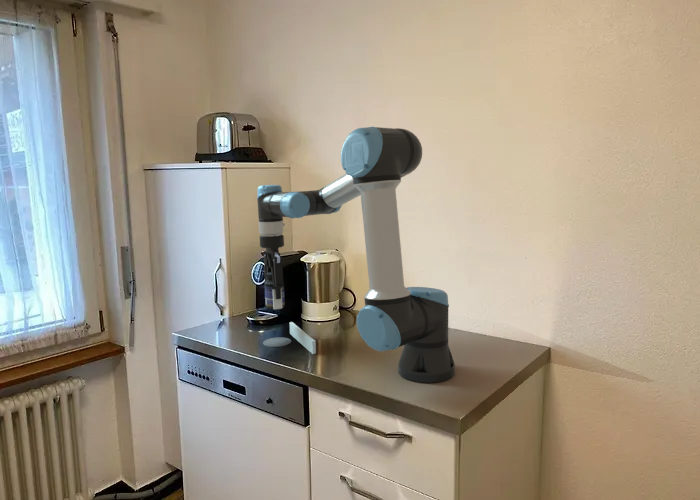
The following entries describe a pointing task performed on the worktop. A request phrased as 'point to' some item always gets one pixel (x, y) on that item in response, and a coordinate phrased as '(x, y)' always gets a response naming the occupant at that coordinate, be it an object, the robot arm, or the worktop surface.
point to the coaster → (277, 342)
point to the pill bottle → (271, 292)
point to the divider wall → (303, 338)
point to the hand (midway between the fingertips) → (275, 306)
